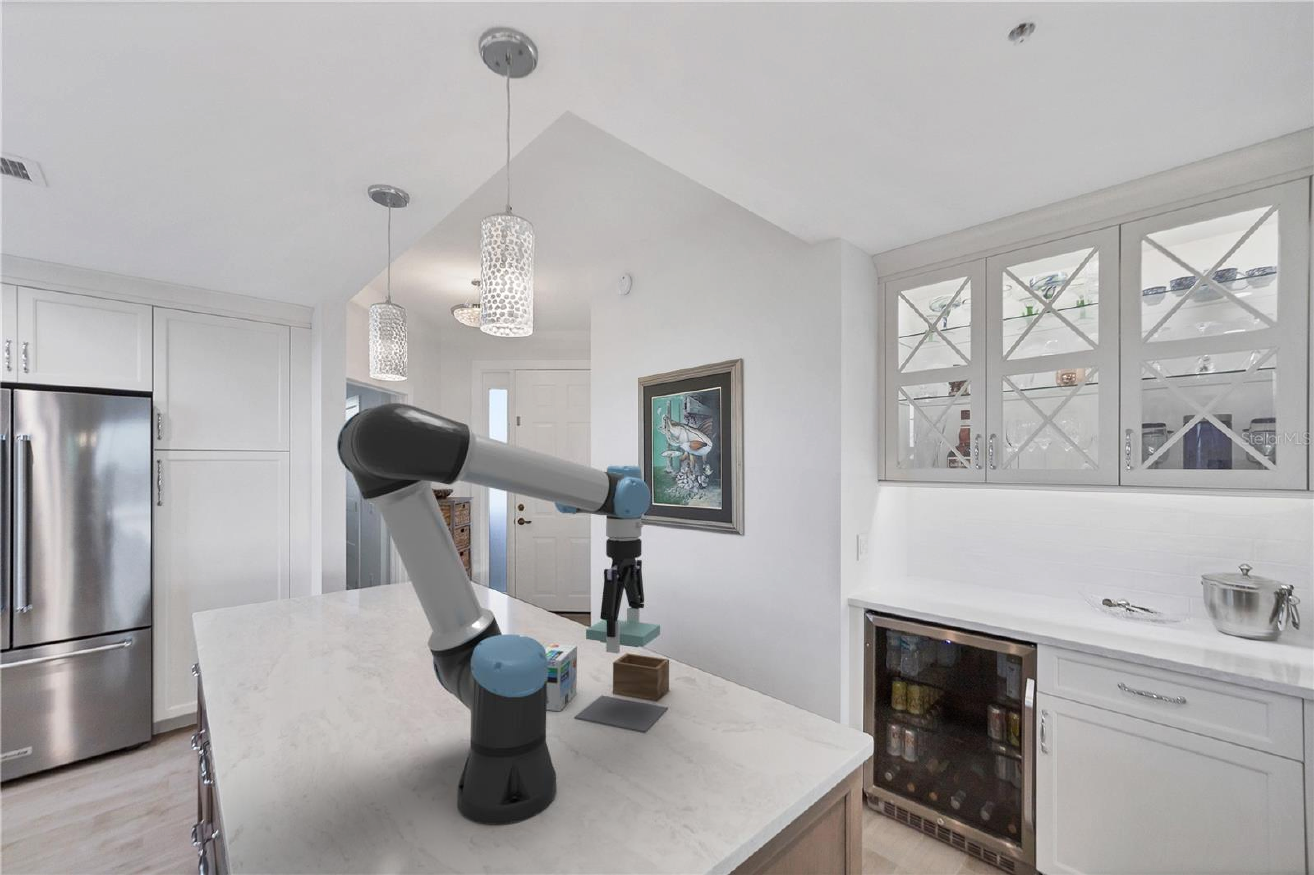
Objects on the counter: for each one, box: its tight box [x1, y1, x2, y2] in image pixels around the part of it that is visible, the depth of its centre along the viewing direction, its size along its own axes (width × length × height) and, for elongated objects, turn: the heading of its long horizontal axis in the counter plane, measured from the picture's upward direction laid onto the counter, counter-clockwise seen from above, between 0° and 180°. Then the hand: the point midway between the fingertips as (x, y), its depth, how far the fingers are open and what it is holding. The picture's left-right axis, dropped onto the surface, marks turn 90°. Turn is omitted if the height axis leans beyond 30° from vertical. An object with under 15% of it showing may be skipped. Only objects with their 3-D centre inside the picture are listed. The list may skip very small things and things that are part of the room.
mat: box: [573, 695, 669, 734], centre depth 121 cm, size 12×16×1 cm
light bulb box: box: [544, 643, 578, 712], centre depth 127 cm, size 11×7×11 cm, turn 168°
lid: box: [585, 619, 661, 648], centre depth 122 cm, size 9×13×3 cm
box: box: [612, 653, 670, 703], centre depth 132 cm, size 7×11×7 cm, turn 67°
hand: (623, 645), depth 121 cm, fingers closed on lid, 9 cm apart
